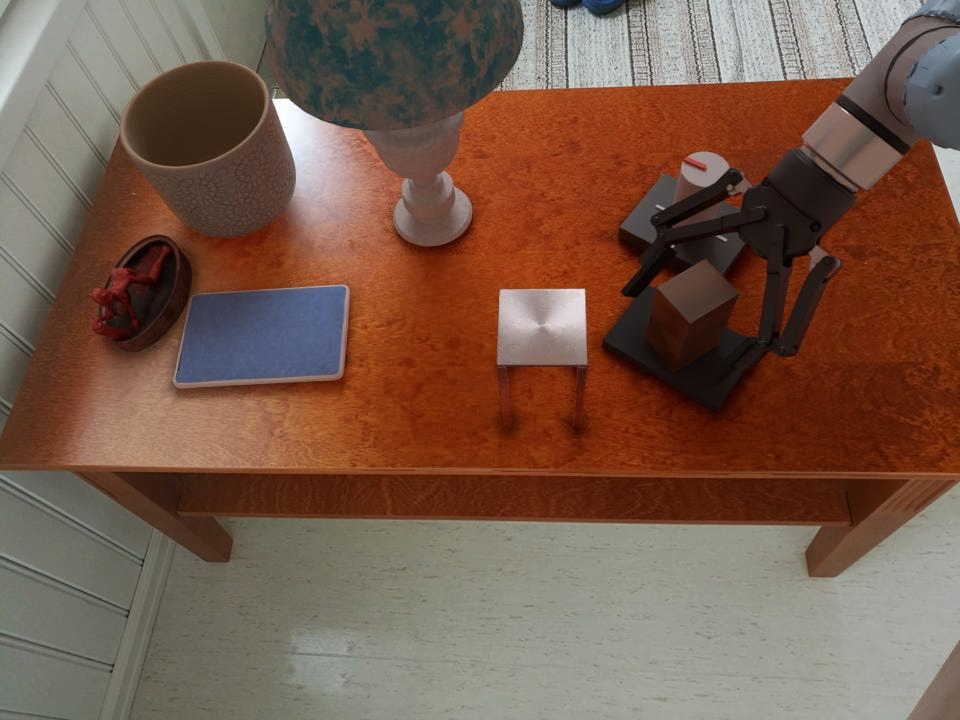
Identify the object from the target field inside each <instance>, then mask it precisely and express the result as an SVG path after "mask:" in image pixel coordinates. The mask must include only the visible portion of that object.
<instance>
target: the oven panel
mask: <svg viewBox="0 0 960 720" xmlns="http://www.w3.org/2000/svg"><path fill="white" fill-rule="evenodd" d="M678 179H679V178H678ZM678 179H677V178H676V177H673V176H671V175H669V174H667V173H665V172H664V173H663V174H662V175H661V176H660V177H659V178H658V180H657V181H656V182H655V183H654V185H653V186H652V187H651V188H650V189H649V190H648V192H647V193H646V194H645V195H644V197H643V198H642V199H641V200H640V201H639V203H638V204H637V205H636V206H635V207H634V209H633V210H632V211H631V213H630V214H629V215H628V216H627V217H626V218H625V220H624V221H623V222H622V223H621V225H620V226H619V228H618V235H617V238H618V239H620V240H622V241H624V242H626V243H628V244H630V245H632V246H633V247H635V248H637V249H639V250H640V251H644V252H645V251H646V250H647V249H648V248H649V246H650V245H651V244H652V243H653V242H654V241H655V239H656V237H657V232H656V229H655V227H654V226H653V225H652V224H651V222H650V220H651V217H652V216H653V215H654V214H656V213H658V212H660V211H662V210H664V209H666V208H668V207H670V206H671V205H673V200H674V196H675V192H676V187H677V183H678ZM737 212H741V208H739V207H736V206H734V205H732V204H731V203H728V202H726V201H725V200H724V201H722V202H720V206H719V209H718V212H717V215H716V218H720V217H721V216H724V215H728V214H732V213H737ZM738 236H739V233H738V232H736V233H728V234H723V235H718V236H713V237H709V238H704V239H699V240H694V241H690V242H685V243H680V244H677V246H675V245H672V246H671V247H672V248H674V249H675V250H676V251H677V252H678V253H677V254H676V255H675V256H674V257H673V258H672V259H671V261H670V262H669V263H668V264H667V265H670V266H671V267H673V268H675V269H678V270H679V271H681V272H684V271H686V270H687V269H689V268H691V267H692V266H694V265H696V264H698V263H699V262H701V261H703V260H704V259H706V260H707V261H708V262H709V263H710V264H711V265H712V266H713V267H714V268H715V269H716V270H717V271H718V272H719V273H720V274H721V275H722V276H723V277H724V278H725V277H726V276H727V275H728V273H729V272H730V271H731V269H732V268H733V266H734V265H735V263H736V262H737V261H738V259H739V258H740V257H741V255H742V254H743V253H744V251H745V250H746V249H747V247H748V246H749V244H747V243H745V242H743V241H742V240H741V239H740V238H739V237H738Z"/></svg>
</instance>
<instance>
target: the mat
mask: <svg viewBox="0 0 960 720" xmlns="http://www.w3.org/2000/svg"><path fill="white" fill-rule="evenodd" d="M656 289H657V288H656V287H653V286H651V285H650V284H649V285H648V286H647V287H646V288H645V289H644V291H643V292H642V293H641V294H640V295H639V296H638V297H637V298H634V299H633V301H631V303H630V304H629V305H628V307H627V308H626V309H625V311H624V312H623V313H622V315H621V316H620V317H619V319H618V320H617V321H616V322H615V324H614V325H613V326H612V327H611V329H610V330H609V332H608V333H607V334H606V335H605V336H604V338H603V339H602V343H601V346H603V347H604V348H606V349H608V350H609V351H611V352H612V353H614V354H616V355H618V356H619V357H621V358H622V359H624V360H626V361H628V362H630V363H632V364H634V366H636V367H638V368H640V369H641V370H643V371H645V372H646V373H648V374H650V375H651V376H653V377H655V378H657V379H659V380H660V381H662V382H663V383H666V384H667V385H669V386H670V387H672V388H674V389H675V390H677V391H679V392H680V393H683V394H684V395H685V396H688V397H689V398H691V399H692V400H694V401H696V402H698V403H699V404H701V405H703V407H706V408H707V409H710V410H711V411H713V412H714V413H717V412H718V411H719V410H720V408H721V407H722V405H723V404H724V403H725V400H726V399H727V398H728V397H729V395H730V393H731V392H732V390H733V388H734V387H735V386H736V384H737V383H738V381H739V380H740V379H741V377H742V375H743V374H744V372H738V370H737V369H735V370H734V371H733V372H732V373H731V374H730V375H729V376H728V377H727V378H726V379H725V380H724V381H723V382H722V383H720V384H719V385H718V386H717V387H715V388H704V387H703V386H702V385H701V383H700V382H701V381H702V380H703V379H704V378H705V377H706V376H707V375H708V374H709V373H711V372H712V371H713V370H714V369H715V368H716V367H717V366H718V365H719V364H720V363H721V362H722V361H723V360H724V359H725V358H726V357H727V356H728V355H729V354H730V353H731V352H732V351H733V350H734V349H735V348H736V347H737V346H738V345H740V344H741V343H742V342H743V341H744V340H745V339H746V338H747V336H744V335H742V334H740V333H738V332H737V331H734V330H733V329H731V328H729V327H727V326H726V328H725V330H724V332H723V335H722V337H721V340H720V342H719V344H718V346H716V347H714V348H713V349H711V350H710V351H708V352H706V353H705V354H703V355H702V356H700V357H698V358H697V359H695V360H693V361H692V362H690V363H689V364H687V365H685V366H684V367H682V368H681V369H679V370H677V371H676V372H673V371H672V370H671V369H670V368H669V367H668V366H667V364H666V363H665V362H664V361H663V360H662V359H661V357H660V356H659V355H658V354H657V353H656V352H655V351H654V349H653V348H652V347H651V346H650V345H649V344H648V342H647V341H646V340H645V335H646V331H647V326H648V322H649V318H650V314H651V310H652V305H653V301H654V297H655V293H656Z"/></svg>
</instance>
